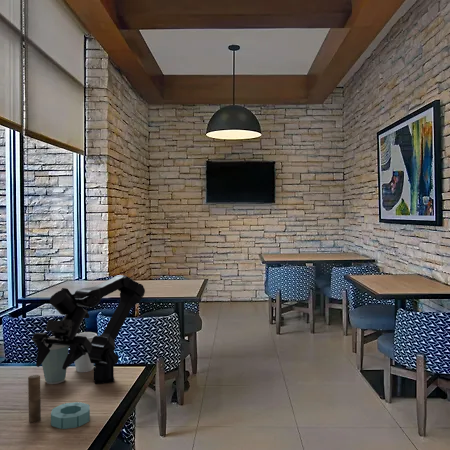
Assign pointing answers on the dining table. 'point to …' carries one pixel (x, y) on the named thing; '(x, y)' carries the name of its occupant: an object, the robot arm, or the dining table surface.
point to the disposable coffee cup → (55, 364)
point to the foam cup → (85, 356)
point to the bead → (70, 415)
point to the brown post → (34, 398)
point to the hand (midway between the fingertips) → (50, 367)
